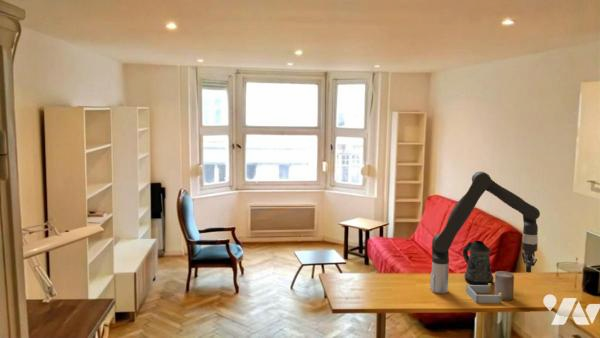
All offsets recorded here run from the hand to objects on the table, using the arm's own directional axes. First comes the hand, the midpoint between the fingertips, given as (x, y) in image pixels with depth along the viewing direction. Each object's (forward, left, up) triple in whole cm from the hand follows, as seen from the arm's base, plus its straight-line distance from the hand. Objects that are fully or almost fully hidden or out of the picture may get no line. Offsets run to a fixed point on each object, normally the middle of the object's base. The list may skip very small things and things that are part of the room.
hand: (528, 272), depth 246 cm
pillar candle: (-13, 0, -15) cm, 20 cm away
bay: (-24, 0, -15) cm, 28 cm away
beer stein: (-19, +25, -15) cm, 35 cm away
